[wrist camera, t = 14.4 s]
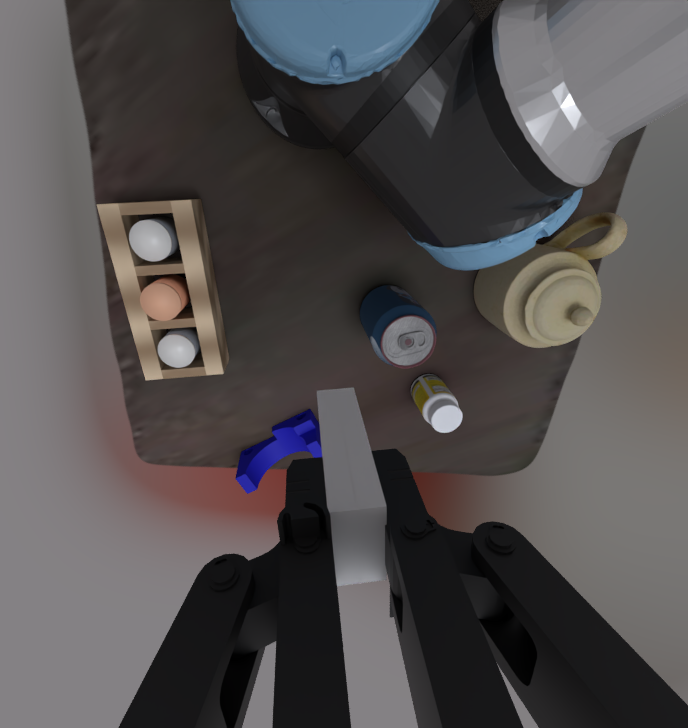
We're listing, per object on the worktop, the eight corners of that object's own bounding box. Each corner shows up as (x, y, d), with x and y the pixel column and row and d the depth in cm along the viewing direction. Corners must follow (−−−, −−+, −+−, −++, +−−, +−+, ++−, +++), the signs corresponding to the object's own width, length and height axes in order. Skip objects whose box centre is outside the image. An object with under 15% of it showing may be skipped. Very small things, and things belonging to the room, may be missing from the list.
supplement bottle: (418, 408, 57) (437, 442, 50) (404, 384, 56) (421, 415, 48) (448, 391, 57) (471, 423, 49) (434, 367, 55) (456, 395, 47)
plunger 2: (166, 322, 48) (153, 336, 44) (200, 320, 48) (190, 333, 44) (174, 353, 50) (162, 369, 45) (206, 350, 50) (197, 366, 46)
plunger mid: (151, 275, 44) (135, 284, 40) (188, 272, 45) (176, 282, 40) (159, 309, 46) (145, 322, 42) (194, 307, 46) (184, 319, 42)
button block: (115, 202, 43) (96, 204, 39) (201, 198, 43) (190, 199, 39) (157, 364, 51) (145, 380, 46) (229, 358, 51) (223, 373, 47)
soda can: (362, 339, 52) (379, 379, 41) (354, 288, 49) (370, 317, 38) (413, 329, 52) (444, 366, 41) (408, 277, 49) (440, 303, 39)
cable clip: (310, 408, 56) (311, 432, 50) (324, 431, 58) (326, 457, 52) (235, 443, 57) (229, 470, 51) (252, 465, 59) (247, 493, 53)
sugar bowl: (486, 205, 47) (563, 213, 33) (572, 209, 48) (681, 218, 34) (465, 325, 53) (523, 373, 39) (542, 325, 54) (625, 372, 41)
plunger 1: (141, 217, 43) (124, 221, 39) (179, 215, 43) (166, 218, 39) (150, 255, 45) (134, 262, 40) (187, 253, 45) (175, 260, 41)
